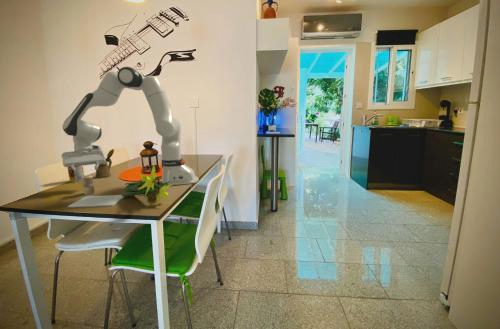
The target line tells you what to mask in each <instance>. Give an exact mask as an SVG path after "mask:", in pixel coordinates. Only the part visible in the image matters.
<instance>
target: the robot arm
mask: <svg viewBox="0 0 500 329" xmlns="http://www.w3.org/2000/svg"><path fill="white" fill-rule="evenodd" d="M124 89H130V90H134V91H141V90H142V92H143V94H144V97H145V98H146V100H147V103H148V106H149V108H150V110H151V114H152V117H153V120H154V124H155V130H156V133H157V134H158V135H159V136H161V145H160V147H161V148H160V150H161V169H162V175H161V176H162V177H161V184H164V183H166V182H169V181H170V182H169V183H168V184H166V186H167V185H171V184H172V185H171V186H177V185H187V184H188V185H189V184H190V185H191V184H196V183H197V182H199V179H200V178H199V176H196V175H195V171H194V169H193V168H191V167H190V166H188V165H187V164H185V159H184V158H182V155H181V153H182V152H181V136H182V135H181V128H182V127H181V123H180V121H179V120H178V119H176V118H174V116H173V112H172V108H171V104H170V101H169V99H168V97H167V94H166V92H165V90H164V88H163V86H162V84H161V82H160V81H159V79H158V77H156V76H155V75H147V76H145V75H144V74H143V73H142V72H140V71H139V70H137V69H135V68H133V67H130V66H123V67H121V68H119V70H118V72H115V71H108V72H107V73H105V76H103V78H102V79H101V81H100V82H99V85H98V86H97V88H96V89H95V90H94V91H92V92H88V93H87V94H85V96H84V97H83V98H82V99H81V100H80V102H79V103H78V104H77V106H76V107H75V108H74V110H72V113H71V114H70V115H69V116H68V117H67V118H66V119H65V120H64V121H63V124H62V130H63V131H64V132H65V134H66V135H67V136H72V142H73V149H74V150H73V151H65V152H63V153H61V158H62V166H63V167H64V168H68V167H72V169H74V172H78V169H77V168H75V166H82V165H83V166H89V165H90V166H91V165H94V166H93V167H94V170H95V171H96V170H98V166H99V164H102V163H105V162H106V158H107V157H106V155H105V152H104V151H103V150H102V147H101V146H100V145H96V144H93V143H96V142H97V141H99V139H101V137H102V134H103V133H102V131H103V130H102V128H101V126H100V125H99V124H96V123H92V122H90V121H86V120H83V119H82V118H83V117H84V116H85V114H86V113H87V111H88V110H89V109H91V108H93V107H111V106H114V105H115V104H116V103H117V102H118V100H119V98H120V96H121V94H122V92H123V91H124ZM95 164H97V165H95Z"/></svg>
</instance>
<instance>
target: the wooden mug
mask: <svg viewBox="0 0 500 329" xmlns="http://www.w3.org/2000/svg"><path fill="white" fill-rule="evenodd" d="M114 152H115V149H114V148H112V149H111V150H109V151H108V153H107V155H106V157H105V158H106V162H105V163H102V164H99V166H98V170H95V178H96V179H105V178H109V177H111V172H110V170H111V167H112V164H113V162H112V159H111V157H112V156H113V155H114ZM96 165H97V164H94V166H96Z"/></svg>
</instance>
